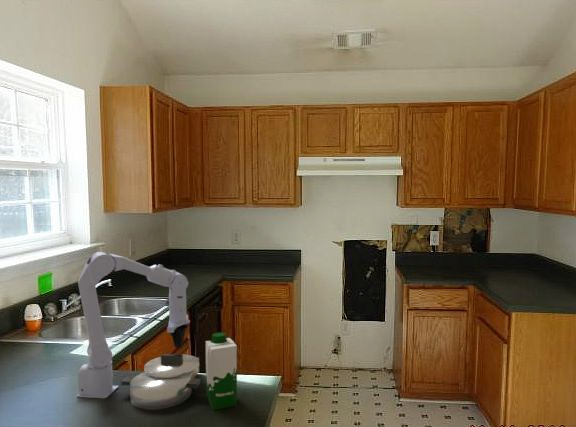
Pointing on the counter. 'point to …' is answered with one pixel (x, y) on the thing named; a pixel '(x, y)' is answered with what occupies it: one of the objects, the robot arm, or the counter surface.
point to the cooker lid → (171, 366)
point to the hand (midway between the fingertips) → (178, 347)
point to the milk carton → (221, 371)
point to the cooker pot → (160, 390)
